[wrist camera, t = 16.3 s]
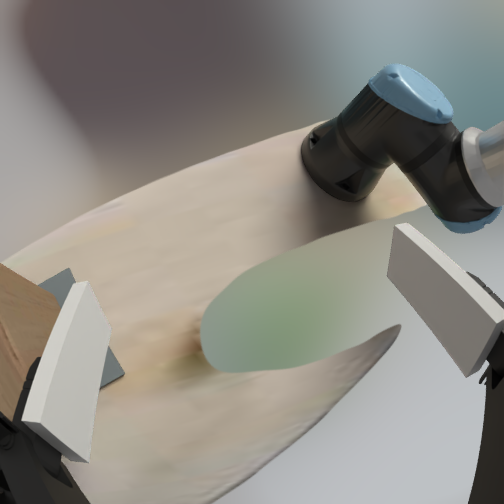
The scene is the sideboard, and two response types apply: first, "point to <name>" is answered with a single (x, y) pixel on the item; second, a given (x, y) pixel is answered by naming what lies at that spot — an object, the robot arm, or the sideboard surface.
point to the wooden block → (21, 332)
